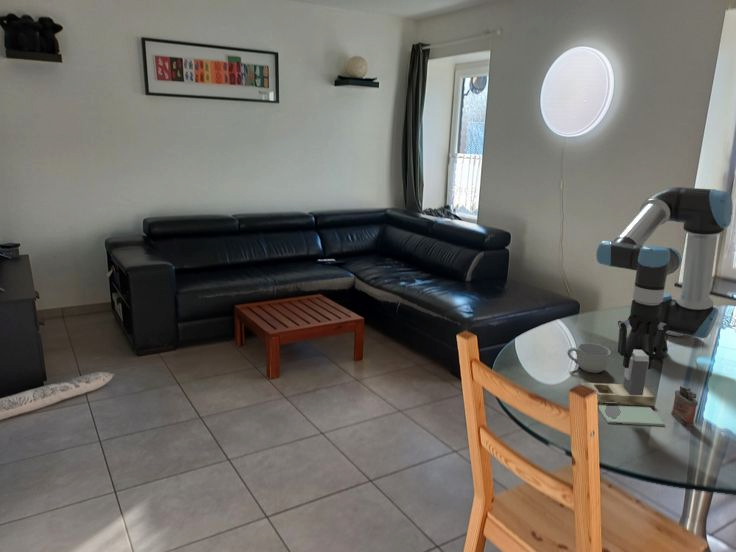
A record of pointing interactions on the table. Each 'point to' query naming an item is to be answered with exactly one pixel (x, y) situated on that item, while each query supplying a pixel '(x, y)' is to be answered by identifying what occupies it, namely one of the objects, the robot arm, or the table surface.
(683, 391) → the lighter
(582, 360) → the teacup
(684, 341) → the table surface
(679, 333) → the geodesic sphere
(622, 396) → the block
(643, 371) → the gray rectangular block
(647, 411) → the mat
